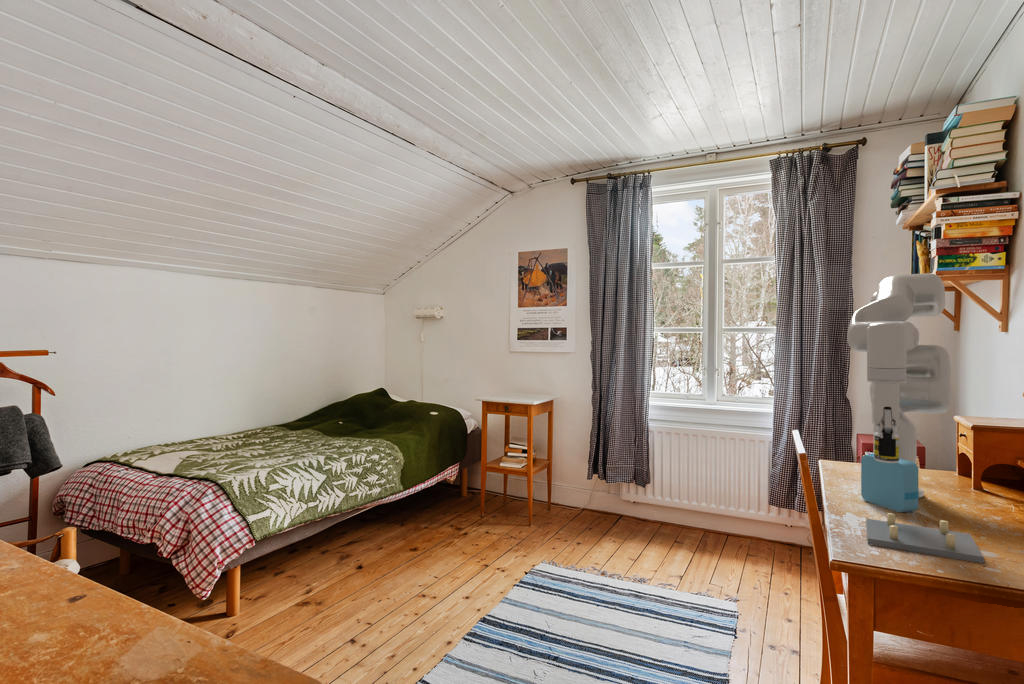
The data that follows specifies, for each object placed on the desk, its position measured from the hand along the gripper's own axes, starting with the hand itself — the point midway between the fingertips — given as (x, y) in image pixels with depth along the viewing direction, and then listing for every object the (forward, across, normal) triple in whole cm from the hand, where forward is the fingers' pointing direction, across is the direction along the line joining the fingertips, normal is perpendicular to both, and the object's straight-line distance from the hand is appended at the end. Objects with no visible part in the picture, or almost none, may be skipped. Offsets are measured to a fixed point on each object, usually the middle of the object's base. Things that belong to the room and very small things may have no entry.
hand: (886, 452), depth 125 cm
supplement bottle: (+2, 0, 0) cm, 2 cm away
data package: (+16, -11, +1) cm, 19 cm away
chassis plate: (+15, +14, +5) cm, 21 cm away
